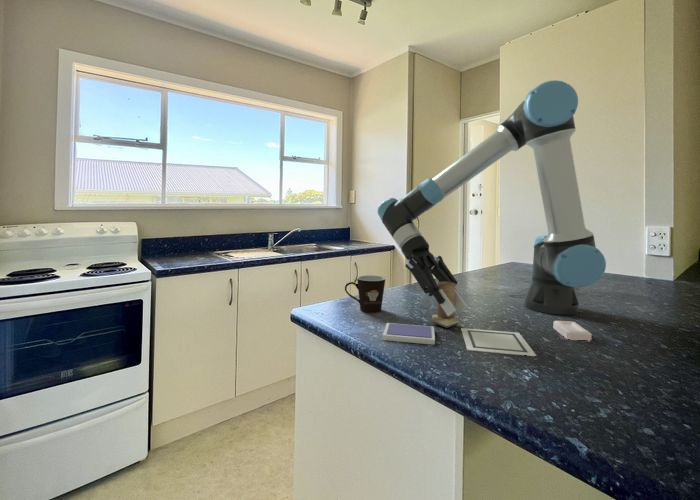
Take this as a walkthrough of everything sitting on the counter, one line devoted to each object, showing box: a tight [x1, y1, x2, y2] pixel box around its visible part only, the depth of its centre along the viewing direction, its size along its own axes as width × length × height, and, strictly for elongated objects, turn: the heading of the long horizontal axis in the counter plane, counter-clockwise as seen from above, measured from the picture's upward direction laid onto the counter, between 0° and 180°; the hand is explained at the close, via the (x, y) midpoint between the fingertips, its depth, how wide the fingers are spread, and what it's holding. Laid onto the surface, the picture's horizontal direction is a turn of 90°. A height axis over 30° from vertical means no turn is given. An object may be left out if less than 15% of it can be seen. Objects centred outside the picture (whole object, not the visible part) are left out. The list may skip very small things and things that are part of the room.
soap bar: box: [552, 320, 593, 342], centre depth 86 cm, size 5×9×2 cm, turn 169°
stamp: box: [431, 281, 460, 329], centre depth 91 cm, size 5×5×11 cm
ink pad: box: [382, 322, 436, 346], centre depth 84 cm, size 12×9×1 cm
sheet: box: [460, 327, 537, 357], centre depth 81 cm, size 14×14×1 cm
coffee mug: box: [344, 274, 386, 314], centre depth 105 cm, size 12×9×10 cm
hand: (457, 311), depth 88 cm, fingers closed on stamp, 4 cm apart
